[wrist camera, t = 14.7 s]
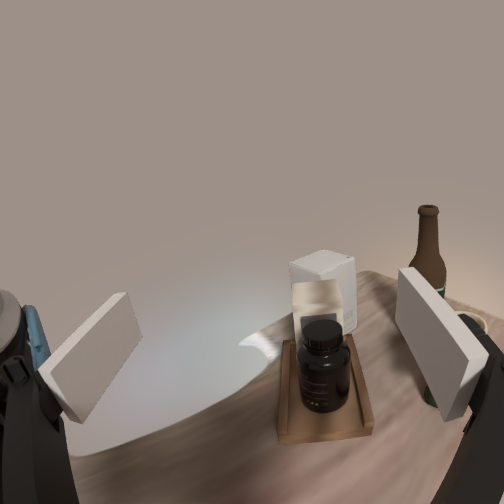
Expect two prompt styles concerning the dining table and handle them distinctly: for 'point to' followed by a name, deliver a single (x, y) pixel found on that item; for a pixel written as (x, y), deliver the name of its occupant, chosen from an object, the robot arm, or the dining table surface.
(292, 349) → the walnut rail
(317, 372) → the supplement bottle
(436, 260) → the beer bottle
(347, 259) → the supplement box
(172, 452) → the dining table surface
